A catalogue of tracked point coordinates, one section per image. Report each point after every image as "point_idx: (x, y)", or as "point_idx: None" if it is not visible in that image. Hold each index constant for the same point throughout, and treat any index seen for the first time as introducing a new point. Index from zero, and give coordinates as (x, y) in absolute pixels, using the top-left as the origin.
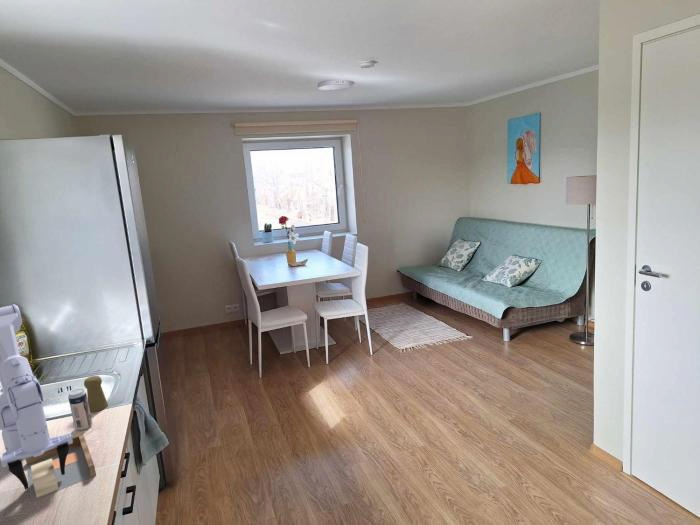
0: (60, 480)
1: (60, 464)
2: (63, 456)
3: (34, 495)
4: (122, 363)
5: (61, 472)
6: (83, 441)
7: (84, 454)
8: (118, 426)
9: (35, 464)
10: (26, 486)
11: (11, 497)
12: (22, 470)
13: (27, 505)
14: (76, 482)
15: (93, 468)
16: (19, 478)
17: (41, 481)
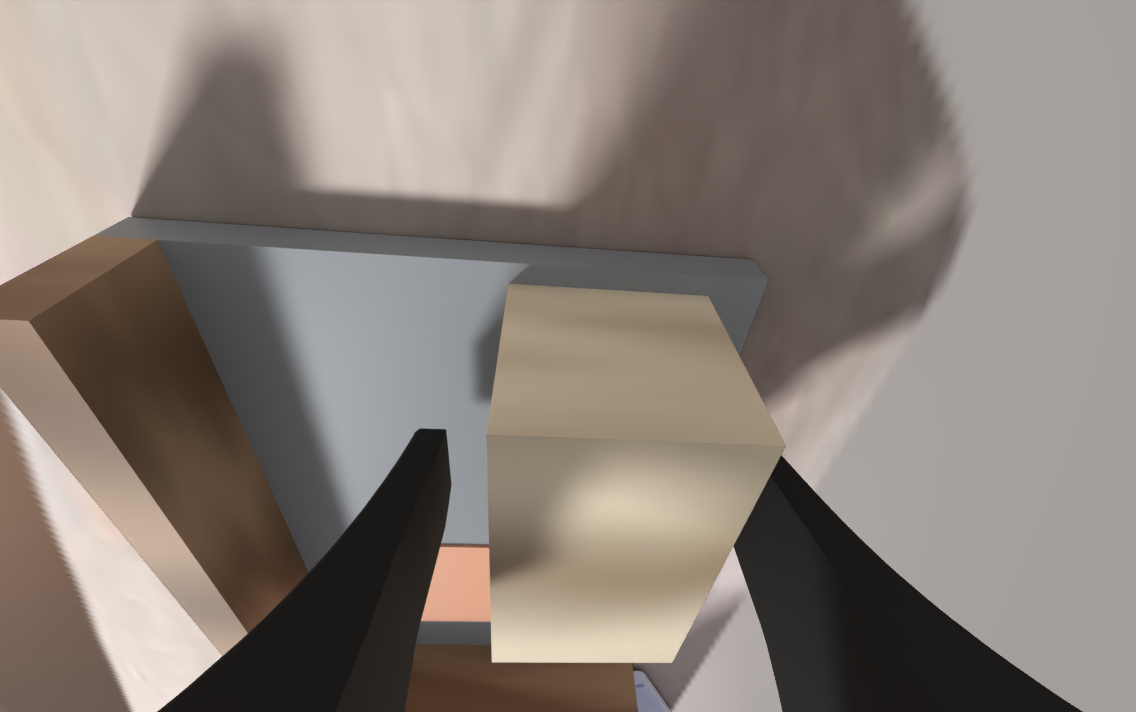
0: (477, 406)
1: (395, 545)
2: (270, 669)
3: None
4: None
5: (434, 452)
6: None
7: (223, 570)
8: (154, 673)
9: (635, 660)
10: None
11: (795, 463)
12: (926, 693)
13: (775, 284)
14: (324, 263)
15: (17, 285)
16: (888, 572)
17: (669, 400)
